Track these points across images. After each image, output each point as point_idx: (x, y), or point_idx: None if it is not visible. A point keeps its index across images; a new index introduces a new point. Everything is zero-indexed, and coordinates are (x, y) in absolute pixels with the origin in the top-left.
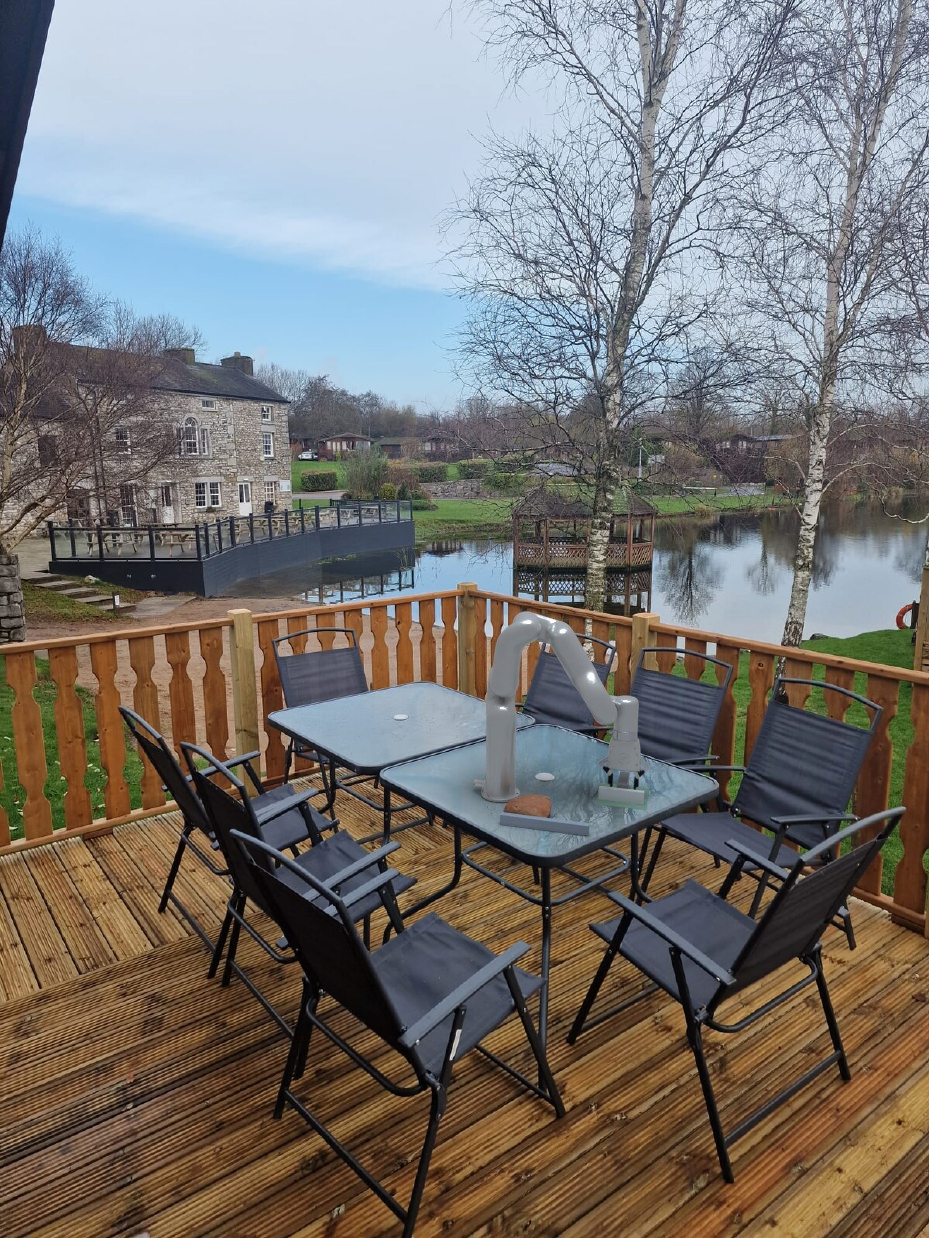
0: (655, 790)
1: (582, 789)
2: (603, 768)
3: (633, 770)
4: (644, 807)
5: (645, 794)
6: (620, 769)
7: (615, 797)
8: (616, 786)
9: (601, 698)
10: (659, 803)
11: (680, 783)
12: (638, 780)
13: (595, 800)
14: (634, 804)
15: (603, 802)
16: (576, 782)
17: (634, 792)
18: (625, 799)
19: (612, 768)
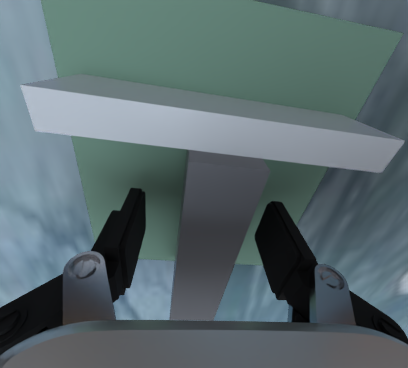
0: (75, 248)
1: (357, 216)
2: (396, 327)
3: (81, 344)
4: (60, 17)
5: (100, 205)
6: (277, 338)
7: (259, 106)
8: None
9: None
10: (7, 127)
11: (12, 297)
12: (94, 244)
13: (366, 94)
14: (137, 67)
15: (330, 69)
16: (351, 258)
17: (119, 95)
18: (195, 94)
19: (379, 341)
